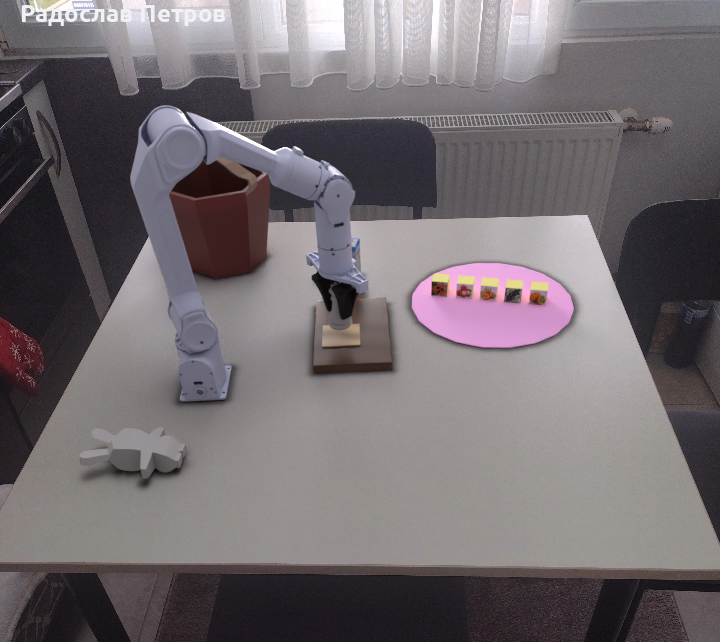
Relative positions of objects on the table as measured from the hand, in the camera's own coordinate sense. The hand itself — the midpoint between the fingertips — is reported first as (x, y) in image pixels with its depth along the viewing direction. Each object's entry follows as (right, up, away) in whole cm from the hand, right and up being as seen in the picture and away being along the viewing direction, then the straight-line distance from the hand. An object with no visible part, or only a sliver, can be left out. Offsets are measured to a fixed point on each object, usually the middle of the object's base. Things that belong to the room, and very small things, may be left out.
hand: (339, 313), depth 124 cm
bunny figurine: (-31, -27, -16) cm, 44 cm away
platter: (+30, +5, +13) cm, 33 cm away
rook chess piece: (0, -2, +2) cm, 3 cm away
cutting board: (+2, -2, +8) cm, 8 cm away
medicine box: (0, +12, +22) cm, 25 cm away
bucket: (-26, +18, +30) cm, 44 cm away
